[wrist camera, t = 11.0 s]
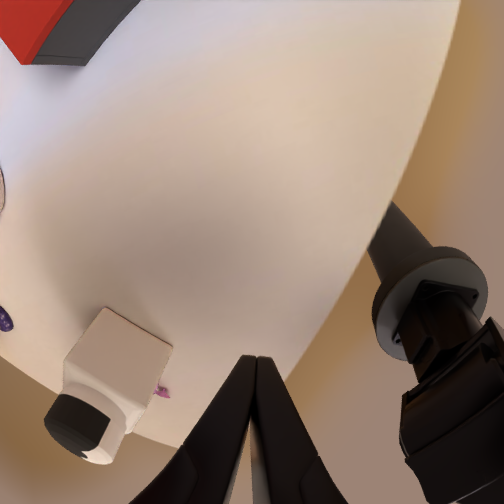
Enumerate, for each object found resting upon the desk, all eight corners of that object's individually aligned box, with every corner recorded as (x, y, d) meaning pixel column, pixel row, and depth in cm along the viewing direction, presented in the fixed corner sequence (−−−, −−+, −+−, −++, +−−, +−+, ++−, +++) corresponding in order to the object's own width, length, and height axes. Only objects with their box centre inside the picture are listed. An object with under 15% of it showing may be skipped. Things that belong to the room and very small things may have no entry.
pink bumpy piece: (167, 380, 31) (177, 386, 30) (162, 392, 31) (173, 398, 30) (148, 376, 29) (158, 383, 28) (144, 389, 29) (153, 396, 28)
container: (94, 347, 29) (38, 434, 18) (104, 304, 26) (29, 407, 14) (153, 381, 30) (110, 478, 19) (175, 345, 27) (122, 465, 15)
